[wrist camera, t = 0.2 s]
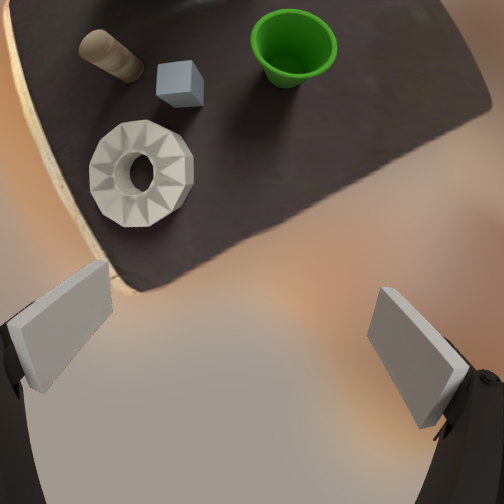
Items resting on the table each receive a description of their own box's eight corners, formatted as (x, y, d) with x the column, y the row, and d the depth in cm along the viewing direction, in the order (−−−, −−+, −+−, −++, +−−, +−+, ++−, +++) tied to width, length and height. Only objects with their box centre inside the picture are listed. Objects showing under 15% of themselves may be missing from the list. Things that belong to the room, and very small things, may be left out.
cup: (264, 110, 35) (268, 88, 25) (242, 54, 33) (238, 18, 22) (326, 93, 34) (350, 69, 24) (303, 39, 32) (317, 2, 21)
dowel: (121, 61, 33) (81, 34, 21) (145, 56, 33) (110, 25, 21) (118, 84, 34) (76, 63, 22) (143, 80, 34) (105, 54, 22)
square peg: (175, 82, 34) (158, 64, 26) (203, 79, 34) (191, 60, 26) (174, 108, 35) (156, 95, 28) (203, 106, 35) (190, 91, 27)
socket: (106, 131, 36) (89, 128, 31) (193, 121, 36) (185, 115, 31) (109, 220, 40) (93, 227, 35) (194, 219, 40) (186, 226, 35)
